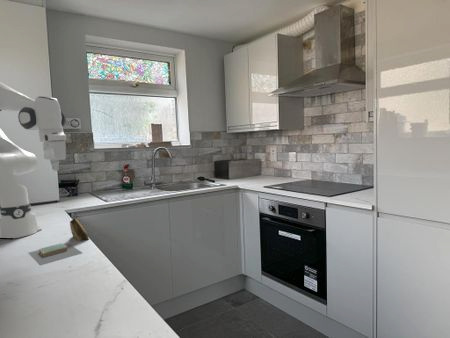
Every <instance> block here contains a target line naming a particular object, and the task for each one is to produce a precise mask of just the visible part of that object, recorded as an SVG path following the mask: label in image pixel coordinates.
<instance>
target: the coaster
mask: <svg viewBox="0 0 450 338" xmlns="http://www.w3.org/2000/svg"><path fill="white" fill-rule="evenodd" d="M63 244H64V243H57V244H54V245H50V246H46V247H42V248H39V249H38V250H39V253H40V254H41V255H42V256H44V257H46V256H49V255H53V254H57V253H60V252H64V251H67V247H66V246H65V245H63Z"/></svg>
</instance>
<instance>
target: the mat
mask: <svg viewBox="0 0 450 338" xmlns="http://www.w3.org/2000/svg"><path fill="white" fill-rule="evenodd" d="M62 244H63V245H65V246H66V247H67V251H64V252H60V253H57V254H53V255H49V256H46V257H44V256H42V255H41V254H40V253H39V249H38V250H34V251H33V250H32V251H30V252H28V255H29V256H31V257H32V258H33V260H35V262H36V263H37V264H38V265H39V266H43V265H48V264H51V263H53V262H56V261H60V260H63V259H68V258H70V257H74V256H78V255H82V254H83V252H82V251H81V250H79V249H77V248H76V247H75V246H73V245H71V244H70V243H69V242H65V243H62Z"/></svg>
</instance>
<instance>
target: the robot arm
mask: <svg viewBox="0 0 450 338" xmlns="http://www.w3.org/2000/svg"><path fill="white" fill-rule="evenodd" d="M1 111H8V112H9V111H12V112H18V114H17V115H18V116H17V117H18V122H19V124H20V126H21V127H22V128H23V129H25V130H27V131H28V130H29V131H38V136H39V137H38V138H39V142H42V149H43V150H42V152H43V157H44V158H43V159H44V160H49V161H50V165H51V167H52V171H54V172H56V171H60V161H61V160H66V156H67V147H66V142H65V141H67V135H66V134H65V133H64V128H63V127H65V125H66V121H67V118H66V115H65V113H64V112H63V110H62V108H61V105H60V103H59V100H58V99H57V98H55V97H50V96H41V95H40V96H36V98H32V97H30V96H27V95H25V94H24V93H21V92H19V91H18V90H16V89H14V88H12V87H10V86H9V85H6V84H5V83H4V82H2V81H0V112H1ZM37 167H38V158H37V156H36V155H35V154H34V153H32V152H30V151H27V150H26V149H25V150H24V149H23V148H21V147H20V146H18V145H17V144H16V143H14V142H13V141H12V140H10V139H9V138H8V136H7V135H6V134H5V133H4V130H2V128H1V127H0V216H1V217H0V238H13V239H19V238H23V237H26V236H30V235H33V234H36V233H37V232H39V231H42V229H43V228H42V227H40V226H39V225H38V221H37V217H36V214H35V213H34V212H33V211H32V205H31V203H30V199H29V194H28V188H27V186H25V185H24V184H22V183H19V182H18V181H17V180H16V178H15V176H19V175H26V174H29V173H31V172H34V171H35V170H36V169H37Z"/></svg>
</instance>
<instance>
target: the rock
mask: <svg viewBox="0 0 450 338" xmlns="http://www.w3.org/2000/svg"><path fill="white" fill-rule="evenodd" d="M69 226H70V227H69V228H70V231H71V234H72V237H73V238H75V240H77V242H82V241H88V240H90V238H89V236H88V233H87V230H86V229H85V227H84V226H83V225H82V223H81V221H79V220H78V219H77V218H76V217H74V218H73V219H71V220H70V221H69Z"/></svg>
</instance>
